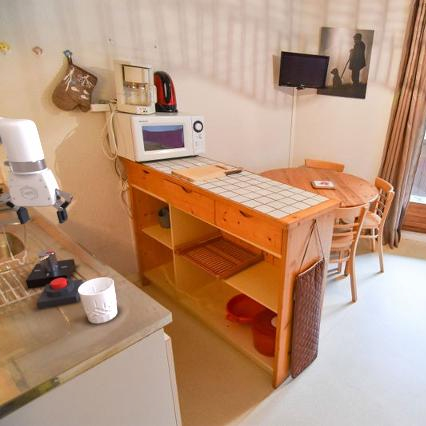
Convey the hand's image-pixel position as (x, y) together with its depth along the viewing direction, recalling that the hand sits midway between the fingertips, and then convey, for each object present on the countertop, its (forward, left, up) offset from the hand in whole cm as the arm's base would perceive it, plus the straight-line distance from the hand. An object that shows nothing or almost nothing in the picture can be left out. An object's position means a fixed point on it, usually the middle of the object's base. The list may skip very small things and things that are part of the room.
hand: (44, 221), depth 94 cm
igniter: (+2, -10, -20) cm, 23 cm away
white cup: (+14, -23, -20) cm, 34 cm away
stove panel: (-3, +2, -20) cm, 20 cm away
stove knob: (-2, +2, -17) cm, 17 cm away
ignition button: (+3, -10, -17) cm, 20 cm away
